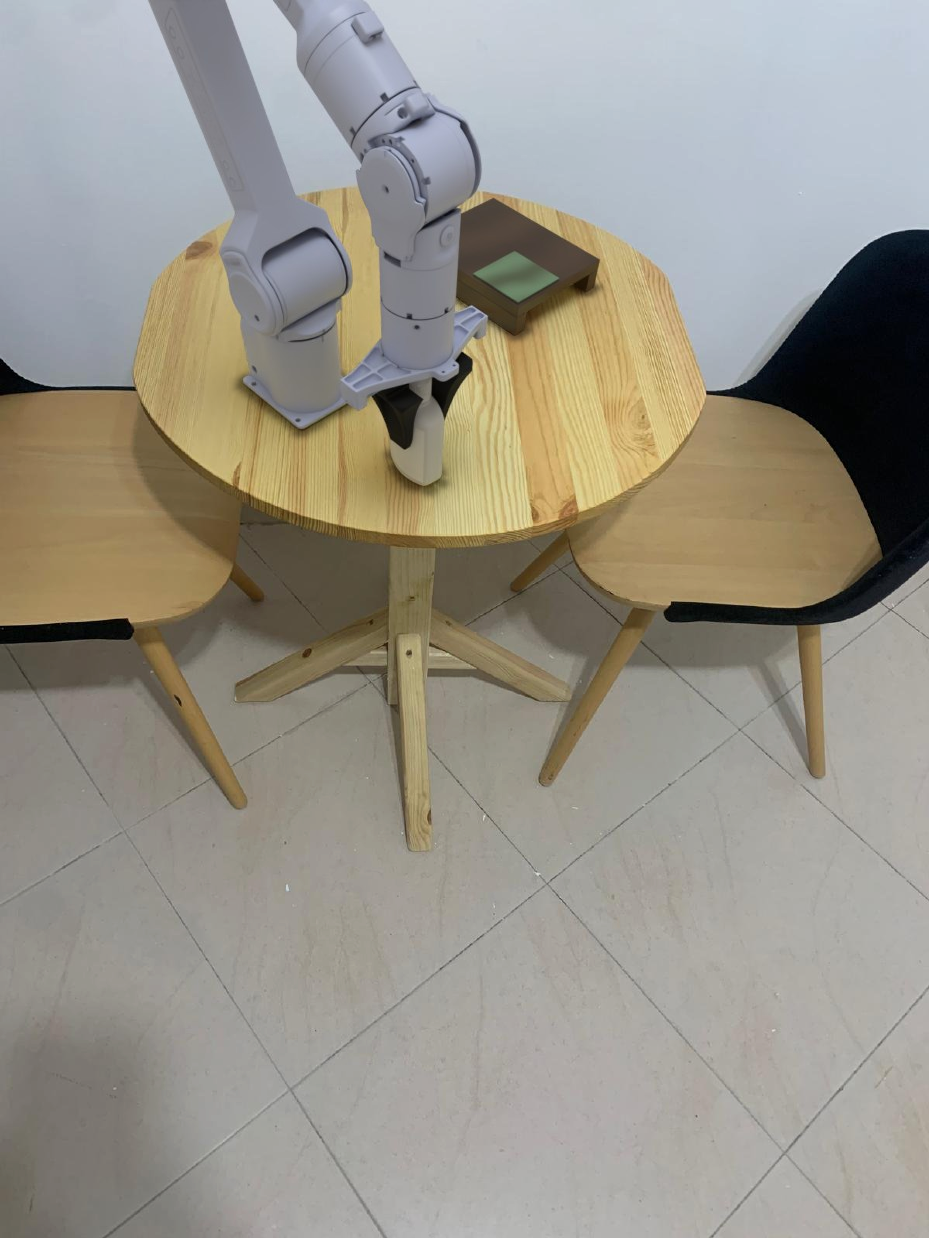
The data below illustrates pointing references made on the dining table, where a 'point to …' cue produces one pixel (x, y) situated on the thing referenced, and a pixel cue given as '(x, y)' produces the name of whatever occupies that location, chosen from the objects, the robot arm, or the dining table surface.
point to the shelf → (515, 264)
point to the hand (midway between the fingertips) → (416, 432)
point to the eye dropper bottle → (422, 440)
